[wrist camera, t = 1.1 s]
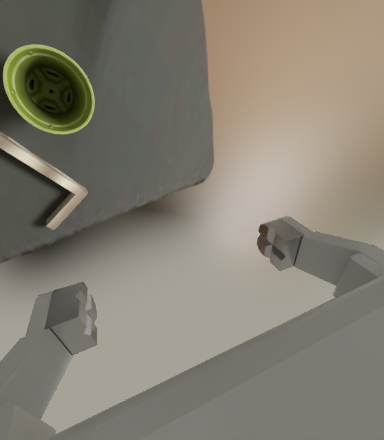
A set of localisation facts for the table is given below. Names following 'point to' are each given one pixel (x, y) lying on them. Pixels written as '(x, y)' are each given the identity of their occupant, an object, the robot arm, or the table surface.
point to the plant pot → (40, 96)
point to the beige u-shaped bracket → (51, 172)
